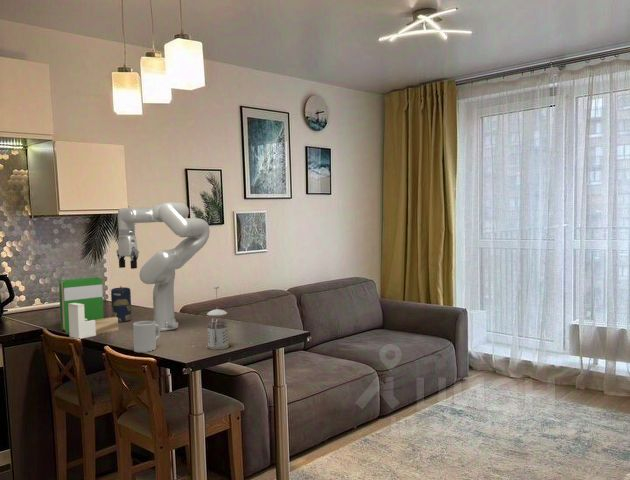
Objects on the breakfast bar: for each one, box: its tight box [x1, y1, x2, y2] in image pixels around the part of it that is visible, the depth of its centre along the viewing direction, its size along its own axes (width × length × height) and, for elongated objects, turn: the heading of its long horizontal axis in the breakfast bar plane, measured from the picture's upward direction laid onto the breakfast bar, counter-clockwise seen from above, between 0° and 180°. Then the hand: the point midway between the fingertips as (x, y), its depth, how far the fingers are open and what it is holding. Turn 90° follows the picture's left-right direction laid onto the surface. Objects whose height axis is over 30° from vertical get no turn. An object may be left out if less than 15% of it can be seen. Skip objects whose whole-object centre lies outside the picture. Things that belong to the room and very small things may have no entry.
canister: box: [110, 285, 133, 323], centre depth 279 cm, size 10×10×18 cm
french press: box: [206, 285, 229, 347], centre depth 218 cm, size 10×12×25 cm
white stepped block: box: [68, 303, 97, 340], centre depth 244 cm, size 8×8×15 cm
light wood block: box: [85, 316, 119, 336], centre depth 251 cm, size 4×16×7 cm, turn 143°
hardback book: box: [58, 276, 104, 334], centre depth 261 cm, size 18×7×24 cm, turn 131°
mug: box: [132, 320, 161, 353], centre depth 218 cm, size 12×8×11 cm
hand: (128, 268), depth 267 cm, fingers open, 9 cm apart
